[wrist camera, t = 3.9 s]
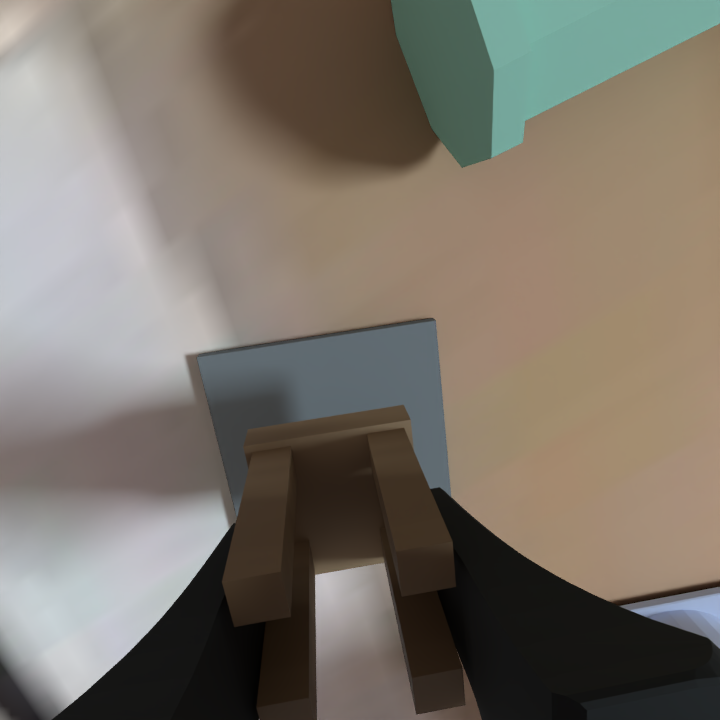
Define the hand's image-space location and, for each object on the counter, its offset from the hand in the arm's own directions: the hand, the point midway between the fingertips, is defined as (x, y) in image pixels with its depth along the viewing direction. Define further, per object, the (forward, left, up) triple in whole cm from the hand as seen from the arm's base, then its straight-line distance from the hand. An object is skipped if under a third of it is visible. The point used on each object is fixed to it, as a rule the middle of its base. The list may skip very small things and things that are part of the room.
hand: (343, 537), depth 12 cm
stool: (0, 0, -2) cm, 2 cm away
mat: (0, 0, -6) cm, 6 cm away
